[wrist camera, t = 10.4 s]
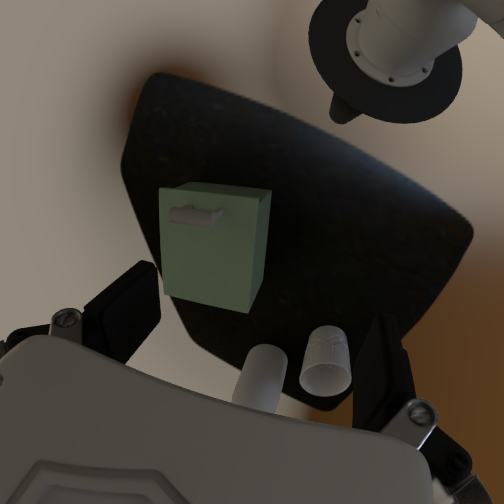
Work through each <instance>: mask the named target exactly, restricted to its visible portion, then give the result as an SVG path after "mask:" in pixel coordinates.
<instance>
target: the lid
mask: <svg viewBox="0 0 504 504" xmlns="http://www.w3.org/2000/svg"><path fill="white" fill-rule="evenodd" d="M258 204H259V198H257V197H249V196H241V195H233V194H224V193H215V192H206V191H196V190H186V189H175V188H163V187H161V188H159V216H160V242H161V260H162V274H163V287H164V294H165V295H169V296H173V297H177V298H181V299H186V300H190V301H194V302H198V303H203V304H207V305H211V306H216V307H220V308H225V309H229V310H234V311H239V312H244V313H248V312H249V308H250V296H251V285H252V273H253V262H254V250H255V239H256V227H257V215H258Z"/></svg>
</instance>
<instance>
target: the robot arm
mask: <svg viewBox="0 0 504 504" xmlns="http://www.w3.org/2000/svg"><path fill="white" fill-rule="evenodd" d="M478 17H479V18H480V19H481V20H483V21H484V22H485V23H487V24H488V25H489V26H490V27H492V29H494V30H495V31H496V32H497V33H498V34H499V35H500V36H501V37H502V38H503V39H504V0H369V1H368V4H367V7H366V9H365V10H363V11H361V12H359V13H358V14H356V15H355V16H354V17H353V19H352V20H351V21H350V23H349V26H348V28H347V33H346V42H347V47H348V50H349V53H350V55H351V57H352V58H353V60H354V62H355V63H356V64H357V65H358V67H359V68H360V69H361V70H362V71H363V72H364V73H366V74H367V75H368V76H369V77H371V78H373V79H374V80H376V81H378V82H380V83H382V84H385V85H389V86H393V87H409V86H412V85H416V84H418V83H420V82H421V81H423V80H424V79H425V78H426V77H427V76H428V75H429V74H430V72H431V70H432V68H433V64H434V59H435V58H436V57H438V56H439V55H441V54H443V53H444V52H446V51H447V50H449V49H450V48H452V47H454V46H455V45H457V44H458V43H460V42H462V41H463V40H465V39H466V38H467V37H469V36H470V35H471V33H472V32H473V30H474V29H475V26H476V23H477V19H478ZM356 21H358V22H359V23H357V22H356ZM355 54H358V55H359V56H358V57H357V56H355ZM422 70H423V71H424V73H423V71H422ZM389 79H391V80H392V82H390V81H389ZM160 319H161V310H160V298H159V285H158V271H157V267H155V265H154V263H152V262H148V261H144V260H141V261H139V262H138V263H137V264H135V265H134V266H133V267H131V268H130V269H129V270H128V271H126V272H125V273H124V274H123V275H121V276H120V277H119V278H118V279H117V280H115V281H114V282H113V283H112V284H110V285H109V286H108V287H107V288H106V289H104V290H103V291H102V292H101V293H100V294H98V295H97V296H96V297H95V298H94V299H92V300H91V301H90V302H89V303H88V304H86V305H85V306H84V312H83V313H81V312H80V311H79V310H77V309H74V308H66V309H62V310H60V311H58V312H56V313H55V314H54V315H53V317H52V319H51V323H50V324H46V325H40V326H33V327H27V328H21V329H17V330H15V331H13V332H12V333H11V334H10V335H9V336H8V337H7V340H6V342H4V340H2V341H0V504H494V503H493V501H492V500H491V498H490V496H489V495H488V493H487V491H486V490H485V488H484V487H483V485H482V483H481V481H480V480H479V478H478V477H477V475H476V474H475V475H472V474H471V469H472V459H471V457H470V455H469V454H468V452H467V451H466V450H465V449H464V448H462V447H461V446H460V445H459V444H458V443H456V442H455V441H454V440H453V439H452V438H450V437H449V436H448V435H447V434H446V433H445V432H443V431H442V430H441V429H440V428H439V427H437V426H436V424H437V422H438V412H437V410H436V408H435V406H434V405H433V404H432V403H431V402H429V401H428V400H426V399H422V398H416V393H415V387H414V382H413V377H412V372H411V367H410V362H409V358H408V354H407V351H406V350H405V349H403V347H402V343H401V339H400V335H399V330H398V326H397V323H396V319H395V316H394V315H389V314H383V313H381V314H380V316H375V318H374V320H373V323H372V325H371V327H370V330H369V332H368V334H367V337H366V339H365V341H364V343H363V346H362V348H361V350H360V352H359V354H358V357H357V359H356V361H355V363H354V367H353V421H352V428H349V427H342V426H336V425H329V424H323V423H317V422H312V421H307V420H301V419H296V418H291V417H286V416H282V415H277V414H273V413H268V412H264V411H260V410H256V409H252V408H248V407H244V406H241V405H237V404H233V403H230V402H226V401H223V400H220V399H216V398H213V397H210V396H207V395H203V394H200V393H197V392H194V391H191V390H189V389H186V388H182V387H180V386H177V385H174V384H172V383H169V382H166V381H164V380H161V379H158V378H156V377H153V376H151V375H148V374H146V373H143V372H141V371H138V370H136V369H134V368H131V367H129V366H127V365H125V364H126V362H127V361H128V360H129V359H130V357H131V356H132V355H133V354H134V353H135V351H136V350H137V349H138V348H139V346H140V345H141V344H142V343H143V341H144V340H145V339H146V338H147V337H148V335H149V334H150V333H151V332H152V331H153V329H154V328H155V327H156V325H157V324H158V323H159V322H160Z"/></svg>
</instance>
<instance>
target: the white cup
mask: <svg viewBox="0 0 504 504" xmlns="http://www.w3.org/2000/svg"><path fill="white" fill-rule="evenodd" d="M350 383H351V369H350V358H349V350H348V346H347V337H346V335H345V333H344V331H342V330H341V329H339V328H338V327H335V326H330V325H327V326H321V327H319V328H317V329H315V330H314V331H313V332H312V333H311V335H310V336H309V341H308V345H307V348H306V352H305V356H304V360H303V365H302V370H301V374H300V384H301V386H302V388H303V389H304V390H306V391H307V392H309V393H311V394H313V395H317V396H333V395H337V394H339V393H341V392H343V391H344V390H346V389H347V388H348V386H349V385H350Z"/></svg>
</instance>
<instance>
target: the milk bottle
mask: <svg viewBox="0 0 504 504" xmlns="http://www.w3.org/2000/svg"><path fill="white" fill-rule="evenodd" d="M287 362H288V360H287V357H286V355H285V353H284V352H283V351H282V350H281V349H280V348H278V347H276V346H274V345H270V344H260V345H257V346H255V347H253V348H252V349H251V350H250V351H249V353H248V356H247V358H246V361H245V363H244V366H243V369H242V371H241V374H240V376H239V379H238V382H237V384H236V387H235V390H234V393H233V396H232V402H231V403H233V404H237V405H241V406H244V407H248V408H252V409H256V410H260V411H264V412H268V413H273V414H274V413H275V410H276V408H277V405H278V402H279V398H280V394H281V390H282V386H283V382H284V377H285V373H286V368H287Z"/></svg>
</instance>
